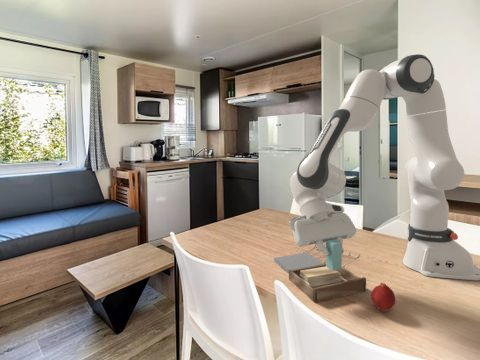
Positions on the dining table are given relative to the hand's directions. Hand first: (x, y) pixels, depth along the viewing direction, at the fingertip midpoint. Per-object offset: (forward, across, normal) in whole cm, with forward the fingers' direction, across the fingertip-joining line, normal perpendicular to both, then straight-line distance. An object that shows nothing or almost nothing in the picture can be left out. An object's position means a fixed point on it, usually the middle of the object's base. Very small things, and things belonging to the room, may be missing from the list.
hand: (335, 254), depth 89 cm
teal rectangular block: (+3, 0, +4) cm, 4 cm away
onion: (+18, +5, -1) cm, 19 cm away
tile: (-6, 0, +22) cm, 23 cm away
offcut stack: (+3, 0, +13) cm, 14 cm away
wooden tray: (+5, 0, +11) cm, 12 cm away
